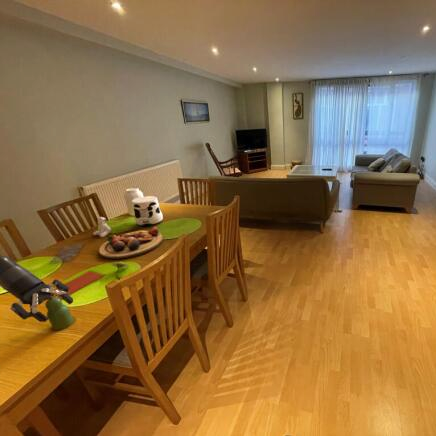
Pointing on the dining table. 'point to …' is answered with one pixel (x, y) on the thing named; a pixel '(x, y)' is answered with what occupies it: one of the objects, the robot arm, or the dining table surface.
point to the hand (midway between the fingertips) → (59, 311)
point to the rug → (67, 253)
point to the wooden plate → (130, 244)
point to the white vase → (131, 198)
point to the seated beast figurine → (102, 228)
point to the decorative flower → (119, 266)
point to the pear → (58, 313)
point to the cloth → (81, 282)
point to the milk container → (147, 210)
